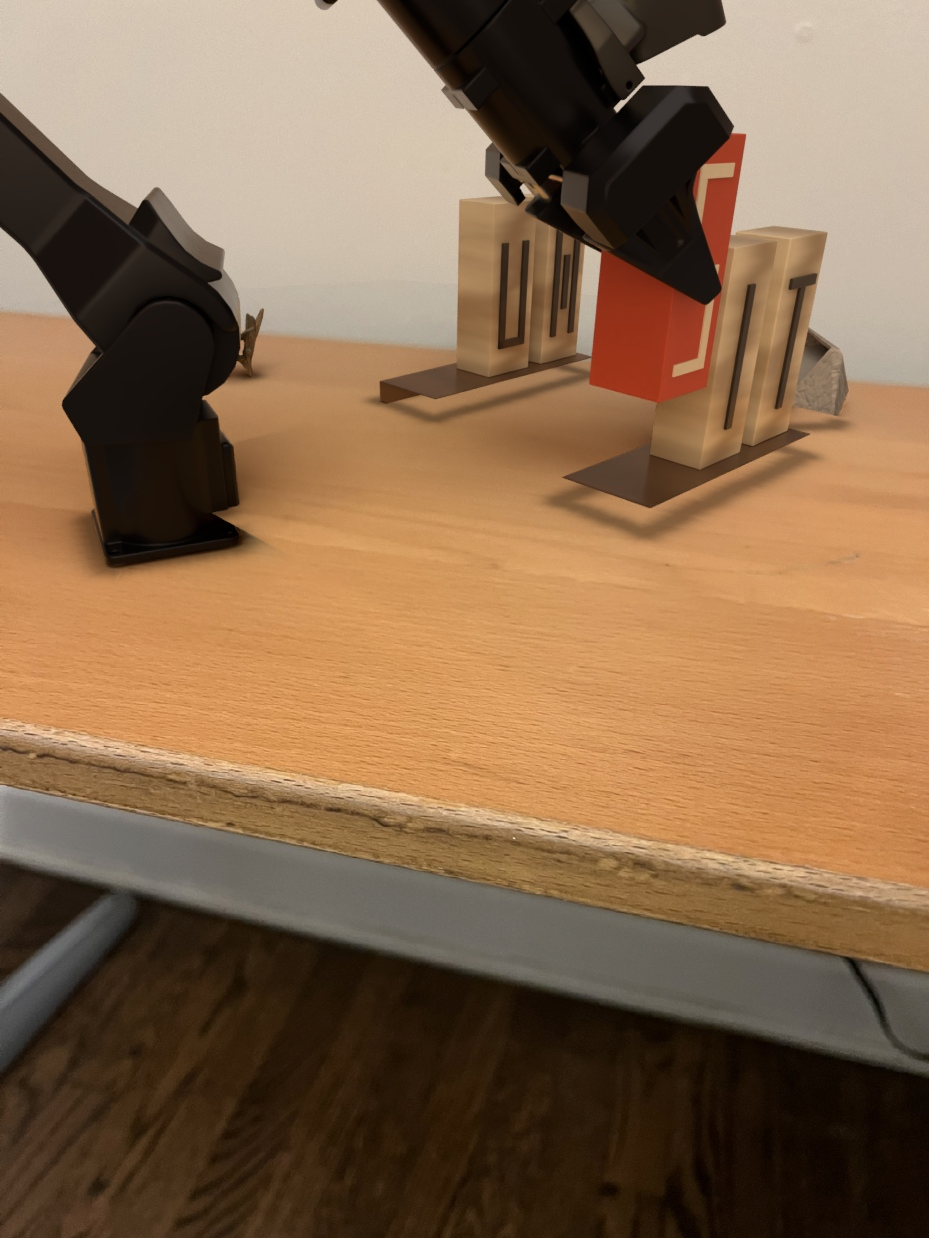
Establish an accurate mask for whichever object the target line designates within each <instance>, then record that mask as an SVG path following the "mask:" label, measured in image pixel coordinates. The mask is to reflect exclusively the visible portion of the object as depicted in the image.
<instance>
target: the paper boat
mask: <svg viewBox="0 0 929 1238" xmlns="http://www.w3.org/2000/svg"><path fill="white" fill-rule="evenodd" d="M848 393H849V384H848V377H847V372H846V366H845V361H844V355H843V353H842V351H841V349H840V347H838V346H837V345H835V344H834V343H833V342H831V341H829V340H828V339H826V338H825V337H823V336H822V335H821V334H819V333H818V332H816V331H815V330H814V329H812V328H811V327H810V326H809V327H808V332H807V337H806V342H805V347H804V351H803V356H802V361H801V366H800V371H799V376H798V381H797V386H796V391H795V395H794V400H793V405H792V407H798V408H801V409H805V410H809V411H814V412H817V413H822V414H826V415H830V416H834V417H839V416H840V413H841V410H842V408H843V406H844V403H845V400H846V398H847V396H848Z"/></svg>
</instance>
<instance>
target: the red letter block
mask: <svg viewBox="0 0 929 1238" xmlns="http://www.w3.org/2000/svg"><path fill="white" fill-rule="evenodd" d="M746 141H747V134H746V133H740V132H739V133H737V132H732V133H731V136H730V139H729V140H728V141H727V142H726V143H725V144H724V145H723V146H722V147H721V148H720V149H719V150H718V151H717V152H716V153H715V154H714V155H713V156H712V157H711V158H710V159H709V160H708V161H707V162H706V163H705V164H704V165H703V166H702V167H701V168H700V169H699V170H698V172H697V175H696V179H695V183H694V188H693V194H694V199H695V202H696V206H697V210H698V214H699V217H700V221H701V224H702V227H703V231H704V233H705V236H706V240H707V243H708V246H709V249H710V252H711V255H712V258H713V261H714V264H715V267H716V270H717V273H718V277H719V280H720V283H721V286H723V280H724V273H725V267H726V261H727V254H728V248H729V242H730V235H732V230H733V229H732V228H733V222H734V217H735V209H736V203H737V196H738V190H739V184H740V178H741V172H742V165H743V158H744V153H745V146H746ZM598 273H599V274H598V283H597V296H596V303H595V304H596V305H595V316H594V328H593V337H592V349H591V356H592V358H590V359H591V360H590V369H589V370H590V371H589V383H588V384H589V385H590V386H593V387H597V388H601V389H605V390H607V391H612V392H616V393H619V394H624V395H627V396H631V397H634V398H638V399H641V400H644V401H645V400H646V401H649V402H653V403H655V404H656V403H661V402H664V401H667V400H670V399H673V398H676V397H679V396H682V395H685V394H688V393H690V392H693V391H696V390H699V389H702V388H705V387H706V386H707V381H708V374H709V368H710V362H711V356H712V349H713V343H714V337H715V330H716V324H717V318H718V311H719V305H720V299H721V292H722V290H721V292H720V293H719V294H718V295H717V296H716V297H715V298H714V299H713V300H712V301H711V302H710V303H709V304H708V305H703V304H701V303H699V302H697V301H695V300H693V299H691V298H690V297H688V296H686V295H684V294H682V293H680V292H679V291H677V290H675V289H673V288H671V287H669V286H668V285H666V284H664V283H662V282H660V281H659V280H657V279H655V278H653V277H651V276H649V275H648V274H646V273H644V272H642V271H640V270H639V269H637V268H635V267H633V266H631V265H629V264H628V263H626V262H624V261H622V260H620V259H618V258H616V257H614V256H613V255H611V254H609V253H607V252H605V251H604V250H602V251H601V253H600V262H599V272H598Z"/></svg>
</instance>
